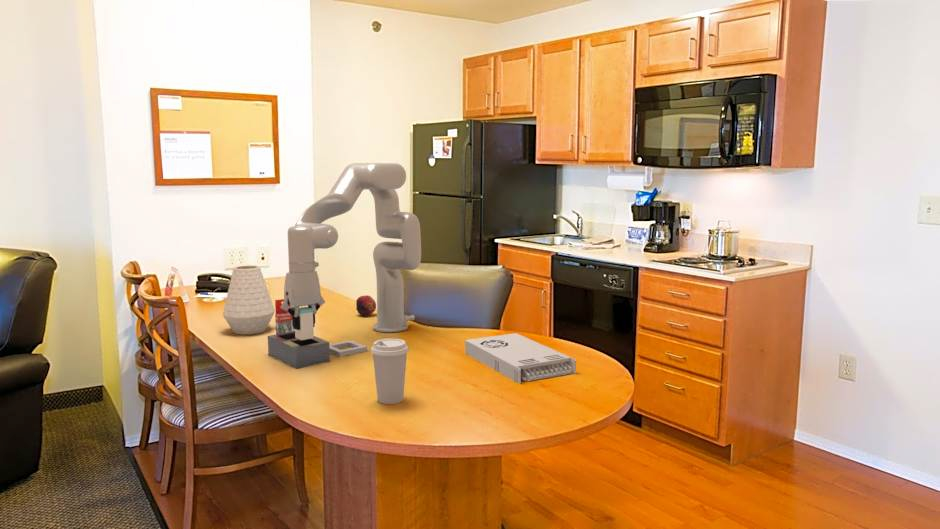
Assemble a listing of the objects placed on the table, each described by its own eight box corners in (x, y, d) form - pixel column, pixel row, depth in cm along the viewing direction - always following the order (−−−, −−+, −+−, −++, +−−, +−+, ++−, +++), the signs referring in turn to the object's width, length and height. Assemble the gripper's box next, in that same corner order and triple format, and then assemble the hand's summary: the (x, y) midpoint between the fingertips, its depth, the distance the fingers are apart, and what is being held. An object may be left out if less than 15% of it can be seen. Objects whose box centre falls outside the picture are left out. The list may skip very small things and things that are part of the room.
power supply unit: (519, 386, 181) (519, 368, 180) (464, 355, 210) (464, 340, 209) (575, 376, 189) (576, 359, 189) (515, 347, 218) (516, 333, 217)
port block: (300, 348, 215) (300, 329, 214) (329, 361, 200) (329, 341, 200) (268, 354, 208) (267, 335, 207) (296, 368, 193) (295, 347, 192)
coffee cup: (372, 393, 173) (371, 338, 170) (409, 392, 174) (408, 337, 171) (370, 407, 163) (369, 348, 161) (409, 406, 164) (408, 347, 162)
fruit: (380, 315, 261) (379, 295, 259) (366, 319, 254) (366, 298, 253) (365, 312, 265) (364, 293, 264) (351, 316, 258) (351, 296, 257)
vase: (213, 334, 231) (209, 269, 228) (247, 323, 247) (243, 262, 244) (253, 339, 225) (249, 272, 221) (285, 327, 241) (282, 265, 237)
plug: (307, 335, 202) (306, 306, 201) (313, 338, 199) (312, 308, 198) (295, 337, 200) (294, 308, 198) (301, 340, 197) (300, 310, 195)
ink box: (302, 341, 222) (301, 299, 220) (279, 345, 218) (277, 301, 216) (299, 339, 225) (297, 297, 223) (276, 342, 221) (274, 299, 219)
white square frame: (350, 344, 219) (350, 340, 219) (367, 351, 211) (367, 346, 211) (323, 350, 212) (323, 345, 212) (339, 357, 205) (339, 352, 205)
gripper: (321, 263, 204) (322, 321, 207) (269, 269, 194) (272, 330, 196) (333, 266, 199) (335, 325, 202) (281, 272, 188) (283, 334, 191)
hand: (304, 327), depth 199 cm, fingers closed on plug, 4 cm apart
